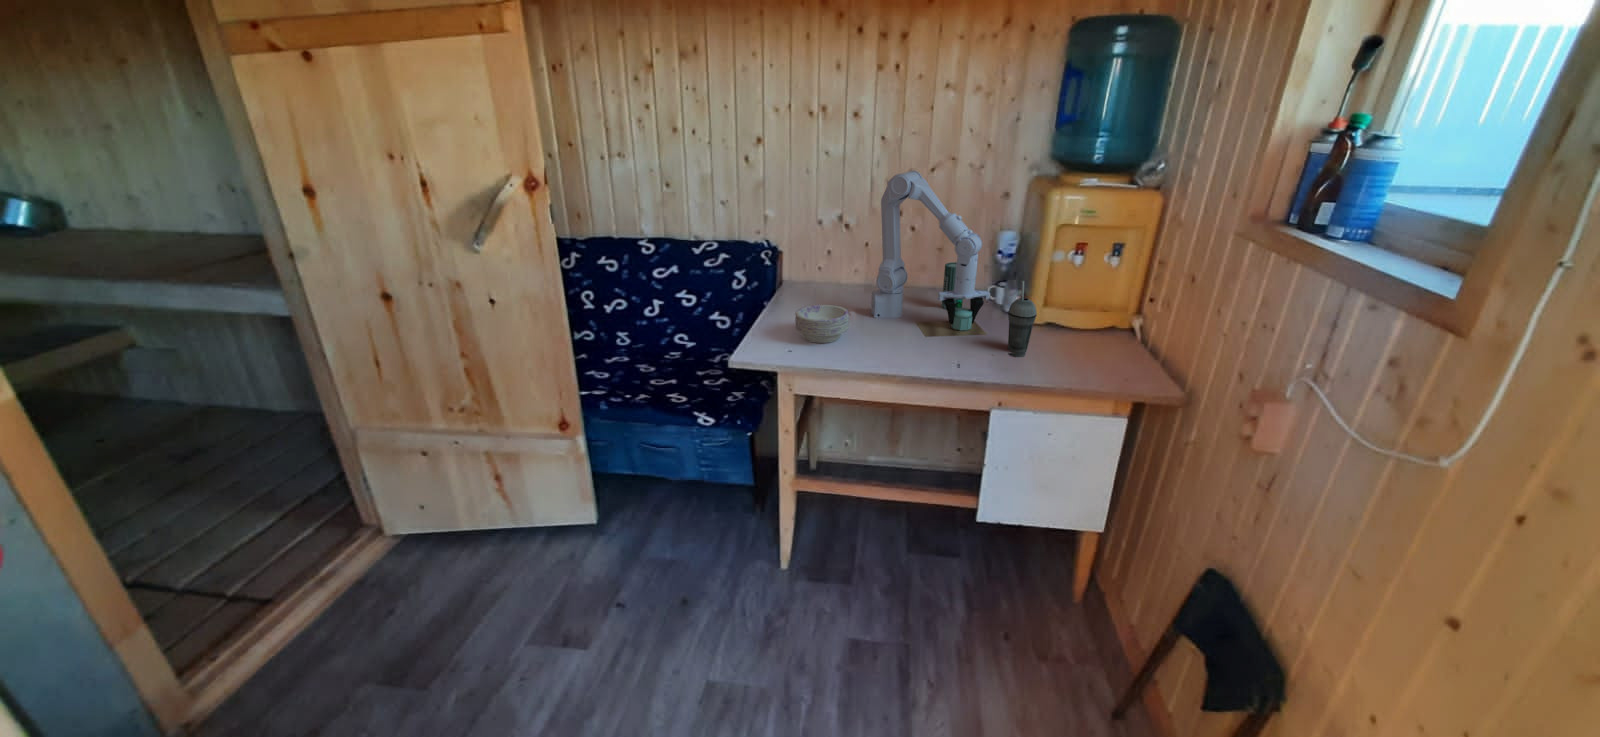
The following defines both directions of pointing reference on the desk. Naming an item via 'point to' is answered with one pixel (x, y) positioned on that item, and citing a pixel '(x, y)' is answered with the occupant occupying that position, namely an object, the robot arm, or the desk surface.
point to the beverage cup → (1020, 325)
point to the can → (950, 282)
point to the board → (947, 329)
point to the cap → (962, 319)
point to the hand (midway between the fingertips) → (961, 322)
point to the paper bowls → (822, 322)
